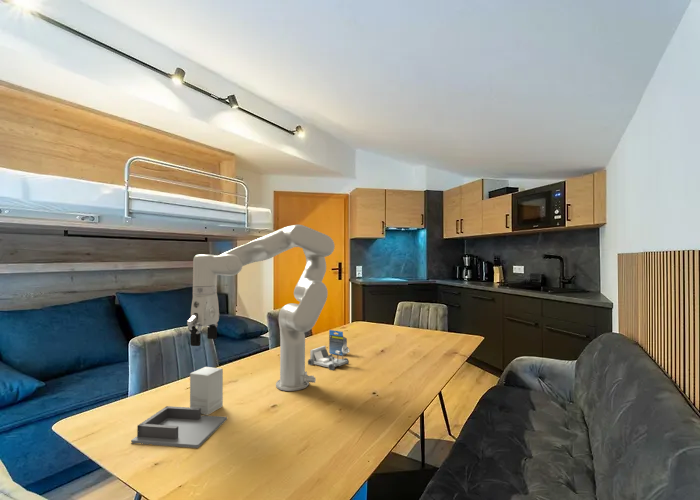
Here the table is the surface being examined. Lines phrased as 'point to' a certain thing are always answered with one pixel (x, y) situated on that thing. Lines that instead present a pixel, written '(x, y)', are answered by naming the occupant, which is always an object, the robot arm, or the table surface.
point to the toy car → (327, 357)
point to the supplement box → (206, 389)
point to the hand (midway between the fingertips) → (204, 342)
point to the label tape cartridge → (336, 342)
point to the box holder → (178, 427)
